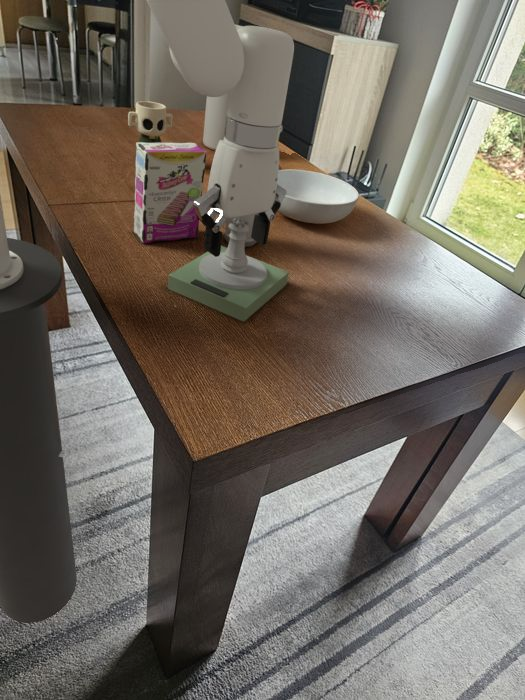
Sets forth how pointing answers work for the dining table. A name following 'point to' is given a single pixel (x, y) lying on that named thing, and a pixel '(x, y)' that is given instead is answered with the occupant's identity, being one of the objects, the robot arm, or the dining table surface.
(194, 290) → the kitchen scale
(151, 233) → the candy bar box
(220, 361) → the dining table surface
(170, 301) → the dining table surface
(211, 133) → the cylinder vase
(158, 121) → the character mug
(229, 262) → the rook chess piece
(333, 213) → the serving bowl
